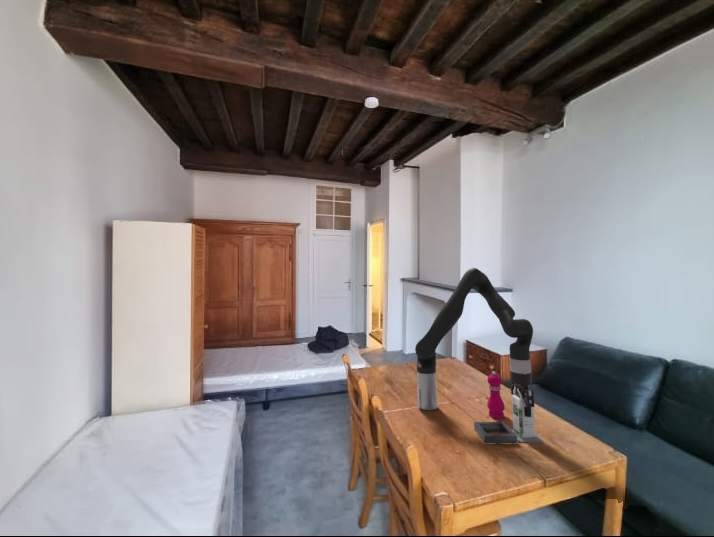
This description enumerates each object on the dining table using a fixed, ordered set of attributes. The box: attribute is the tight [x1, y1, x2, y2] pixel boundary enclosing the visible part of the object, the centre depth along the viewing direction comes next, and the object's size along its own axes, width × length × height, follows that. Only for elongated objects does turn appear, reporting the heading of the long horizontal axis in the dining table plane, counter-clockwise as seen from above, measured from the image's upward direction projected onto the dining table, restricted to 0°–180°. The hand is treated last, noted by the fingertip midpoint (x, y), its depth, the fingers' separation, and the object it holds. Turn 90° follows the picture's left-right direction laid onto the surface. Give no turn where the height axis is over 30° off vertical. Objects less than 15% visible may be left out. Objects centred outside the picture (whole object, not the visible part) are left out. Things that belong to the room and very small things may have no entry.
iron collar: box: [473, 421, 518, 445], centre depth 120 cm, size 12×12×3 cm
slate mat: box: [511, 429, 544, 443], centre depth 119 cm, size 9×9×1 cm
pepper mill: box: [486, 370, 506, 420], centre depth 139 cm, size 7×7×20 cm
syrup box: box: [511, 394, 536, 438], centre depth 120 cm, size 6×6×14 cm
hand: (522, 412), depth 120 cm, fingers open, 8 cm apart
